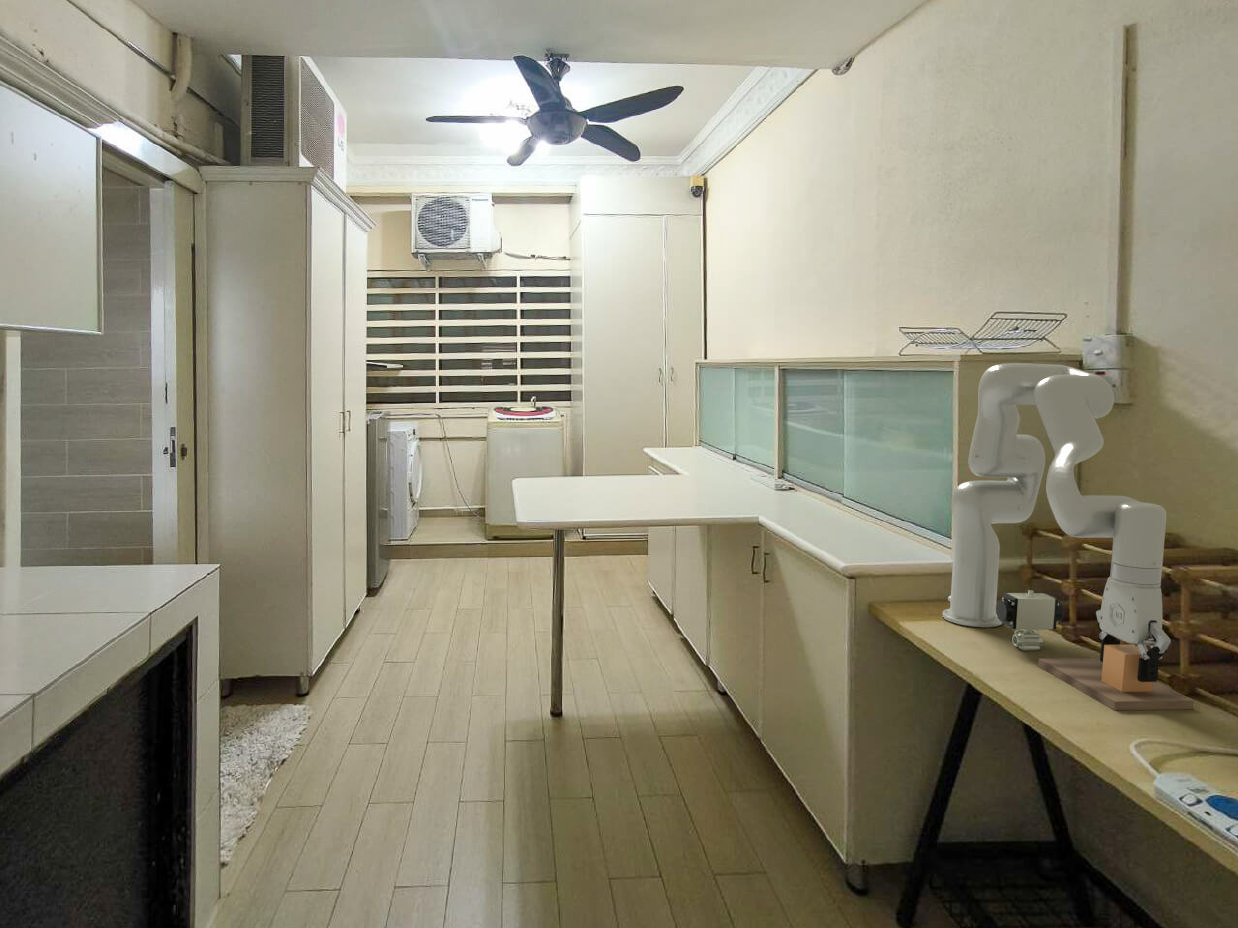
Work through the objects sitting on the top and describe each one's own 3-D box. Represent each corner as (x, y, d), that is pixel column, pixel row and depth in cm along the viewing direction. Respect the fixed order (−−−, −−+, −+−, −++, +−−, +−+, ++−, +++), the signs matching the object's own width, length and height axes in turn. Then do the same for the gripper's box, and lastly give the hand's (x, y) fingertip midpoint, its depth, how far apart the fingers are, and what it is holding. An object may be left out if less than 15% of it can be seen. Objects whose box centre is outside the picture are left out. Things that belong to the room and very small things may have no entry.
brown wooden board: (1038, 666, 166) (1040, 637, 166) (1107, 665, 168) (1109, 637, 167) (1114, 710, 144) (1117, 678, 144) (1193, 708, 146) (1196, 676, 145)
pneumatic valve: (1061, 652, 175) (1065, 593, 174) (1004, 652, 174) (1008, 593, 173) (1046, 643, 181) (1050, 586, 179) (991, 643, 180) (994, 586, 179)
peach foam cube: (1101, 680, 154) (1104, 644, 154) (1130, 680, 155) (1133, 644, 154) (1121, 691, 149) (1124, 654, 148) (1151, 691, 149) (1154, 654, 149)
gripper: (1083, 563, 158) (1076, 655, 160) (1150, 586, 141) (1141, 689, 143) (1122, 563, 159) (1114, 655, 161) (1193, 586, 142) (1184, 688, 143)
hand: (1127, 671), depth 152 cm, fingers open, 9 cm apart
